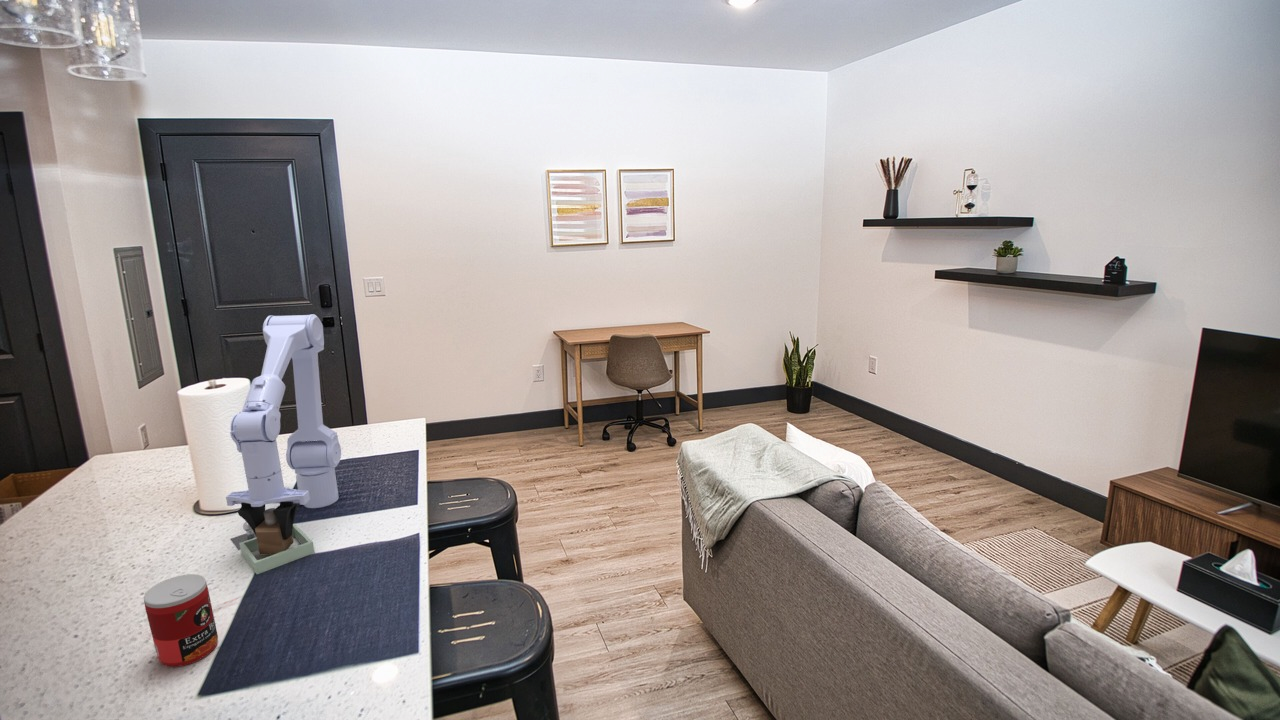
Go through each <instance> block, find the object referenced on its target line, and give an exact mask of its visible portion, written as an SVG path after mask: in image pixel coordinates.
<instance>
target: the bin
mask: <svg viewBox="0 0 1280 720" xmlns="http://www.w3.org/2000/svg"><path fill="white" fill-rule="evenodd" d="M292 537H293V538H296V540H297V541H298V542H299V543H300V544H299V545H296V546H294V547H290V548H288V549H287V550H285V551H282V552H280V553H277V554H270V555H269V556H266V557H264V558H260V559H257V558H256V557H255V555H254V554H253V552H255V551H259V548H258V542H257V537H256V538H253V539H250V540H247V541H244V542H241V543H239V544H240V550H239V551H240V553H241V556H242V557H243V558H244V560H245V561H246V562H247V564H248V565H249V566H250V568H251V569H252V570H253V571H254V573H255V574H256V575H260V574H262V573H266V572H267V571H270V570H272V569H276V568H278V567H280V566H283V565H286V564H289V563H291V562H294V561H297V560H299V559H301V558H304V557H307V556H310V555H312V554H315V546H314V542H313V540H312V539H311V538H310V537H309V536H308V535H307V534H306V533H305V532H304V531H303V530H302V529H301V528H300V527H299V526H298V525H297V524H296V523H293V530H292Z"/></svg>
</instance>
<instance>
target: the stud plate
mask: <svg viewBox="0 0 1280 720" xmlns="http://www.w3.org/2000/svg"><path fill="white" fill-rule="evenodd" d="M242 528H243V529H242V530H244V531H245V532H246V533H243V534H241V535H237V536H235V537H232V538H230V539H229V540H230V541H231V542H232V544H233V546H235V548H236V549H237V550H238V551H241V550H240V544H239V543H241V542H244V541H247V540H250V539H253V538H256V535H255V533H254V532H253V530H252V528H251V527H250V525H249V524H248V523H247V522H246V521H245V522H244V523H243V525H242Z"/></svg>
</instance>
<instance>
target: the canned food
mask: <svg viewBox="0 0 1280 720" xmlns="http://www.w3.org/2000/svg"><path fill="white" fill-rule="evenodd" d="M143 603H144V609H145V612H146V617H147V620H148V624H149V628H150V633H151V637H152V640H153V644H154V648H155V653H156V656H157V659H158V661H159V662H160V663H161V664H162V665H163V666H165V667H172V668H175V667H176V668H177V667H182V666H187V665H190V664H193V663H195V662H197V661H200V660H202V659H203V658H205V657H206V656H208V655H209V654H210V653H211V652H212V651H214V649H215V648H216V647H217V644H218V638H219V636H218V631H217V627H216V621H215V616H214V611H213V606H212V601H211V596H210V591H209V587H208V582H207V581H206V578H205V577H204V576H203V575H200V574H196V573H195V574H193V573H192V574H181V575H177V576H173V577H170V578H168V579H165V580H162V581H160V582H157V583H155V585H153V586H152V587H150V588H149V589H148V590H147V591H146V592H145V593H144V595H143Z"/></svg>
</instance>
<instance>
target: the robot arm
mask: <svg viewBox="0 0 1280 720" xmlns="http://www.w3.org/2000/svg"><path fill="white" fill-rule="evenodd" d="M262 335H263V339H264V343H265V344H266V345H267V346H266V352H265V355H264V360H263V365H262V369H261V374H260V375H259V376H256V377H254V378H253V379H252V381H251V383H250V386H249V389H248V392H247V396H246V397H245V400H244V403H243V406H242V409H241V411H239V412H238V413H237V414H234V416H233V417H232V418H231V422H230V432H229V435H230V438H231V440H232V441H233V442H234V443H235V446H236V450H237V451H238V453H241V458H242V461H243V462H242V463H243V468H244V474H245V478H246V483H247V489H248V490H241V491H232V492H230V493H229V494H227V495H226V496H225V499H226V505H227V506H228V507H232V506H235V505H240V508H239V509H238V510H237V513H238V516H240V517H241V518H242V519H243V520H245V522H247V523H248V524H249V525H250V527H251V528H252V530H253V532H254V533H255V535H256V531H255V528H256V527H257V526H258V525H260V524H261V523H262V522H263V521H264V520H265V517H264V511H265V510H266V505H268V504H279V505H278V506H277V507H276V509H275V510H273V512H274V514H275V516H276V517H277V519H278V522H279V525H280V529H281V535H282V538H283V540H287V539H288V538H289V537H290V536H291V535H292V530H293V525H294V521H295V517H296V513H297V510H298V508H299V506H301V505H303V506H304V507H305V508H308V509H317V508H319V509H320V508H324V507H327V506H330V505H332V504H334V503H336V502H337V501H338V500H339V489H338V483H337V476H336V470H335V468H336V467H337V466H338V465H339V463H340V462H341V457H342V447H341V444H340V442H339V437H338V436H339V435H338V433H337V432H336V431H335V430H333V429H331V428H330V427H328V426H327V425H325V424H324V421H323V420H324V419H323V408H322V396H321V395H322V393H321V382H320V380H321V379H320V370H319V369H320V367H319V355H318V353H320V352H322V351H323V350H325V347H324V345H325V337H324V325H323V323H322V321H321V319H320V318H319V317H318V316H317V315H316V314H315V313H313V314H302V315H299V314H297V315H294V314H293V315H268V316H267V317H266V318H265V319H264V322H263V324H262ZM291 360H292V366H293V367H292V368H293V380H294V382H293V383H294V392H295V393H294V394H295V403H296V404H295V405H296V417H297V429H296V430H294V431H293V433H291V434H290V435H289V436H288V438H287V441H286V442H287V443H286V444H287V446H286V447H287V449H286V452H285V458H286V459H285V460H286V464H287V465H288V467H289V468H290V469H291V470H293V471H294V473H295V474H296V475H295V479H296V486H297V489H296V488H295V489H294V488H290V487H289V488H288V487H285V483H284V478H283V473H282V467H281V461H280V454H279V449H278V443H277V442H278V441H277V439H278V437H279V434H280V431H281V417H282V416H281V412H280V407H281V404H282V401H283V398H284V395H285V391H286V384H285V383H284V381H282V379H283V378H284V375H285V372H286V370H287V368H288V366H289V363H290V361H291Z"/></svg>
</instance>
